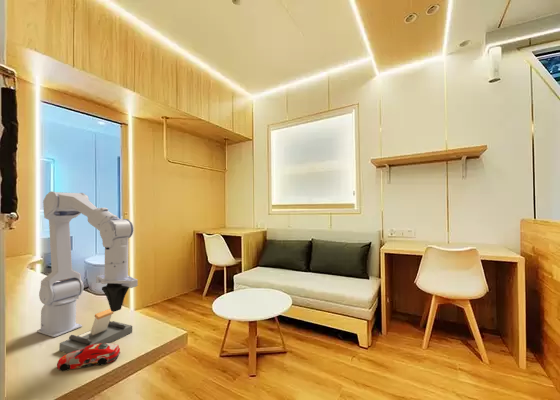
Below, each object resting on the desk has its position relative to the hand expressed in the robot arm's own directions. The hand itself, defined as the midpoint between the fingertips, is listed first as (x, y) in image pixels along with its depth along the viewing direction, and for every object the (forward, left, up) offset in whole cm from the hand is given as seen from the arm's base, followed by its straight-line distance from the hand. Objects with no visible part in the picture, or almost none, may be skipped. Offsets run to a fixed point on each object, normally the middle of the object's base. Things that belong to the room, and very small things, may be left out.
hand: (116, 310), depth 74 cm
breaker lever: (-8, 0, -7) cm, 10 cm away
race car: (+1, -8, -10) cm, 13 cm away
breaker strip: (-8, 0, -10) cm, 12 cm away
